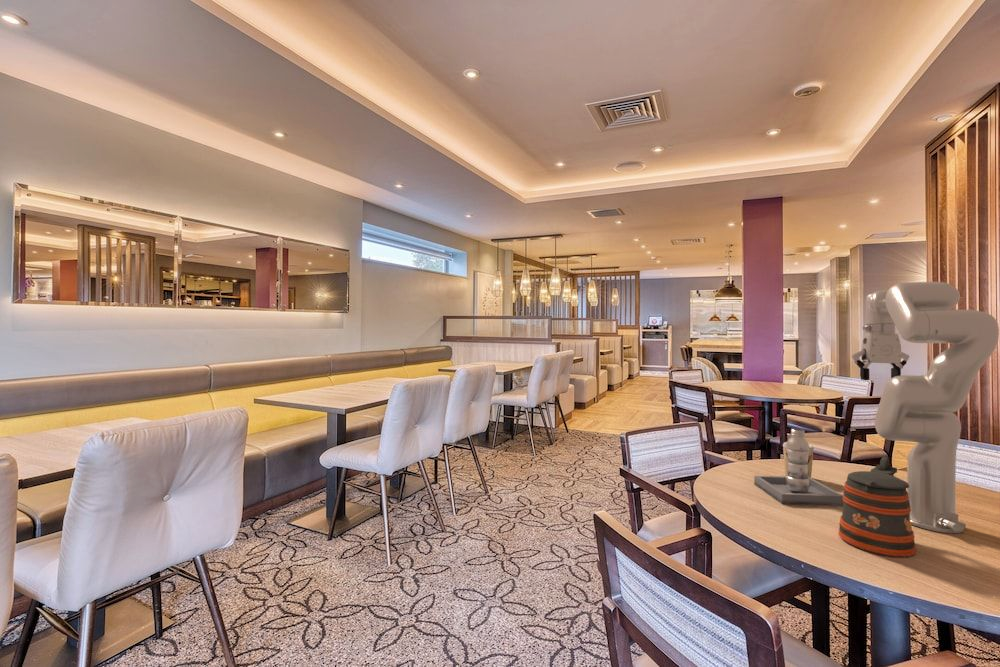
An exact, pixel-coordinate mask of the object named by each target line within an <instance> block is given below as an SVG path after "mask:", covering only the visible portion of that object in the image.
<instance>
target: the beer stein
mask: <svg viewBox="0 0 1000 667" xmlns="http://www.w3.org/2000/svg"><path fill="white" fill-rule="evenodd" d="M896 473H898V468H897V467H893V466H891V465H890V458H889V456H886V455H885V456H884V455H882V457H881V459H880V461H879V464H877V465H876V466H875V467H873V468H871V470H869V471H868V470H867V471H866V470H861V471H853V472H850V473H848V474H847V477H846V480H845V482H844V489H843V493H842V495H843V501H844V505H843V506H842V515H840V517H839V518H840V519H839V525H838V526H839V528H838V536H839V538H840V539H841V540H843V541H844V542H846V543H847V544H848V545H851V546H853V547H854V548H857V549H859V550H861V551H864V552H868V553H871V554H875V555H882V556H887V557H892V558H907V557H908V558H909V557H912V556H915V555H916V545H915V533H914V530H913V529H912V528H913V527H912V525H911V519H910V512H911V509H910V503H909V496H908V492H907V488H909V485H908V483H907V481H906V480H903V479H902V478H900V477H897V476H895V474H896Z"/></svg>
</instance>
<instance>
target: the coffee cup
mask: <svg viewBox="0 0 1000 667" xmlns="http://www.w3.org/2000/svg"><path fill="white" fill-rule="evenodd" d="M786 443H787V441H785V442H783V443H782V447H783V448H782V450H783V463H784V465H783V466H784V474H785V476H784V477H786V476H787V473H788V455H787V448H786ZM808 444H809V443H808ZM809 447H810V449H809V456H808V464H807V465H808V467H807V469H808V477H810V478H812V472H813V461H814V460H813V459H814V458H813V457H814V450H815V449H814V446H813V445H812V444H809Z"/></svg>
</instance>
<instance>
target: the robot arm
mask: <svg viewBox="0 0 1000 667" xmlns="http://www.w3.org/2000/svg"><path fill="white" fill-rule="evenodd" d="M960 299H961V294H960V291H959V289H957V288H956V287H955V286H954V285H952V284H950V283H949V282H948V283H947V282H944V281H919V282H918V281H917V282H916V281H915V282H912V281H911V282H898V283H895V284H894V285H892V286H890V288H888V290H877V291H874V292H873V293H869V294H868V295H866V298H865V308H866V309H865V325H863V326H862V330H863V331H865V333H863V336H862V337H863V338H862V342H861V350H860V351H858V352H855V353H853V354H851V358H852V359H853V361H854V364H856V365H857V367H858V368H859V373H860V374H859V376H860V379H861V381H869V380H870V368H868V367H869V366H870V365H871V364H890V365H891V368H890V372H891V373H890V378H889V379H888V381H886V383H885V386H884V388H883V391H882V394H881V397H880V401H879V405H878V407H877V411H876V413H875V420H874V427H875V430H876V432H877V435H878V436H879V437H881V438H883V439H885V440H888V441H895V442H905V443H906V442H907V443H908V442H909V443H916V444H915V445H914V446H913V447H912V448H911V449H910V451H909V453H908V454H907V460H906V461H907V464H906V465H907V470H906V471H907V474H906V475H907V480H906V482H907V483H908V485H909V488H906V491H907V492H908V496H909V503H910V509H911V512H910V519H911V526H914V527H918V528H920V529H924V530H929V531H932V532H938V533H945V534H959V533H963V532H964V531H965V528H967V525H966V523H963V522H962V521H959V514H957V513H956V479H957V478H956V471H957V469H956V466H957V465H956V462H957V461H956V460H957V449H958V444H959V440H960V437H961V431H962V423H961V420H960V418H959V417H958V416H957V415H956V414H955V413H954V412H958V411H959V410H960V409H962V407H963V406H964V404H965V403H966V401H967V399H968V396H969V395H970V392H971V390H972V388H973V387H972V386H973V385H974V382H975V380H976V377H977V375H978V373H979V371H980V370H981V368H982V367H984V366H983V365H984V364H986V362H987V361H988V360H989V359H990V357H991V356H992V354H993V353H994V351H995V349H996V347H997V346H998V341H999V337H1000V336H999V335H1000V329H999V323H998V321H997V319H996V318H995V317H994V316H993V315H991V314H990V313H988V312H985V311H981V310H976V309H953V308H954V307H956V306H957V305H958V303H959V301H960ZM896 330H897V331H898V333H896ZM899 335H900V336H899ZM900 337H901V339H903V340H904V341H906V342H909V343H913V344H953V345H952V346H951V347H948V348H947V349H944V351H942V352H941V353H939V354H938V355H936V357H934V358H933V359H932V361H931V363H930V364H929V369H928V370H927V373H925V374H923V375H922V374H921V375H908V374H907V375H905V374H904V375H902V369H904V366H905V365H906V364H907V361H908V360H909V358H910V355H909V354H907V353H904V352H902V346H901V345H902V344H901V340H900ZM860 358H861V359H860Z"/></svg>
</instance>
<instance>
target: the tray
mask: <svg viewBox="0 0 1000 667" xmlns="http://www.w3.org/2000/svg"><path fill="white" fill-rule="evenodd" d="M753 478H754V485H755V486H756V487H757V486H758V487H757V488H759V489H760V490H761V491H764V492H765V493H766V494H768V495H769V496H770V497H771V498H772V499H774V500H775V501H777V502H779V504H781V505H797V506H798V505H799V506H824V507H825V506H826V507H827V506H828V507H829V506H830V507H843V505H844V501H843V493H842V494H841V493H840V492H838V491H836V490H834V489H832V488H831V487H829V486H827V485H825V484H823V483H822V482H819V481H818V480H816V479H814V478H812V477H811V478H810V477H808V478H809V483H810V488H809V491H808V492H806V493H799V492H794V491H791V490H789V489H788V487H787V485H786V476H782V475H781V476H780V475H779V476H778V475H777V476H776V475H775V476H773V475H754V476H753Z"/></svg>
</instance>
